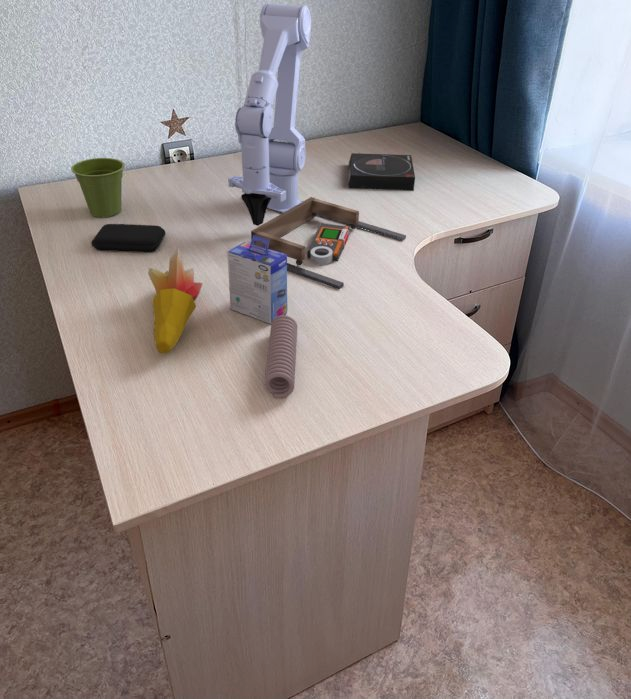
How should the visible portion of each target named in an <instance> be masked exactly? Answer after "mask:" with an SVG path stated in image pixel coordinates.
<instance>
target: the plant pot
mask: <svg viewBox="0 0 631 699" xmlns="http://www.w3.org/2000/svg"><path fill="white" fill-rule="evenodd" d="M124 168H125V163H124V162H123V161H122V160H120V159H117V158H111V157H93V158H88V159H84V160H80V161H78V162H76V163H75V164H73V165H72V166H71V168H70V171H71V172H72V173H73V174H74V176H75V178H76V180H77V182H78V183H79V186H80V188H81V191H82V194H83V197H84V199H85V203H86V205H87V207H88V208H87V209H88V210H89V213H90V215H92V216H93V217H94V216H95V217H96V218H111V217H114V215H119V214H120V213H121V211H122V189H123V188H122V183H123V182H122V181H123V180H122V179H123V176H124V175H123V173H124V172H123V171H124Z"/></svg>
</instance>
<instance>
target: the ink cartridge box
mask: <svg viewBox="0 0 631 699" xmlns="http://www.w3.org/2000/svg"><path fill="white" fill-rule="evenodd" d="M255 241H261V242H263V243H264V244H265V247H262V246H258V245H255V244H254V242H255ZM269 241H270V240H268V239H265V238H262V237H259V236H256V235H253V238H252V241H250V242H248V241H247V242H246V241H243V242H242V243H240V244H238V245H236V246H234V247H233V248H231V249H230V250H228V251H227V252H226V253H227V267H228V268H227V269H228V286H229V290H228V292H229V308H230V310H232V311H236V312H238V313H240V314H244V315H246V316H248V317H252V318H254V319H256V320H260V321H262V322H265V323H267V324H270V325H271V323H272V320H273V319H274V318H275V317H277V316H280V315H286V314H287V313H288V271H287V263H288V257H287V254H284V253H280V252H277V251H274V250H270V249H268V246H269Z"/></svg>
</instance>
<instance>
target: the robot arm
mask: <svg viewBox="0 0 631 699" xmlns="http://www.w3.org/2000/svg"><path fill="white" fill-rule="evenodd" d="M259 24H260V25H259V26H260V30H261V34H262V38H263V44H262V49H261V53H260V54H261V56H260V60H259V68H258V70H257V71H256V72H254V73H252V75H251V77H250V81H249V85H248V88H247V92H246V95H245V99H244V102H243V105H242V106H241V107H239V108H238V109H237V110H236V114H235V119H234V120H235V122H234V128H235V132H236V134H237V140H238V143H239V144H240V148H241V151H240V152H241V164H242V166H241V167H242V176H236V175H232V176H230V177H228V178H227V179H228V182H227V183H228V184H227V185H228V187H229V188H234V187H235V188H238V189H241V193H242V194H241V197H240V198H241V200H242V202H243V203H244V204H245V206H246V208H247V210H248V213H249V215H250V218H251V222H252V224H253V225H254V226H257V227H259V226H261V225H263V224H264V219H265V215H266V212H267V209H268V210H273V211H275V212H278V213H281V214H282V213H284V212H286V211H287V210H289V209H291V208H293V207H294V206H296V205H298V204H300V203H301V202H303V201H304V200H302V199H299V172H300V171H302V169H303V168H304V166H305V163H306V158H307V157H306V155H307V154H306V139H305V137H304V136H303V135H302V134H301V133H300V132H299V131H298V129H296V128H295V127H296V125H295V124H296V115H297V104H298V103H297V102H298V101H297V100H298V94H299V93H298V92H299V81H300V80H299V78H300V68H301V67H300V66H301V59H302V52H303V51H305V50H306V49H308V48H309V44H310V40H311V32H312V31H311V30H312V16H311V11H310V9H309V7H308V5H305V4H304V5H293V4H292V5H291V4H279V3H278V4H277V3H270V2H266V3H264V4H263V6H262V7H261V9H260V14H259ZM276 75H277V77H276ZM274 102H275V104H274ZM273 106H274V109H273ZM276 140H277V141H276ZM283 141H285V142H283ZM286 141H287V142H286ZM288 141H289V142H288Z"/></svg>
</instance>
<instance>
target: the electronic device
mask: <svg viewBox="0 0 631 699" xmlns="http://www.w3.org/2000/svg"><path fill="white" fill-rule="evenodd" d="M350 230H351V228H350V225H348V226H347V225H339V224H331V223H322V222H320V225H319V226H318V228H317V230H316V231H315V235H314V236H313V239H312V240H311V242H310V244H309V247H307V249H306V251H307V259H310V262H311V263H312V264H314V265H318V266H326V265H329V264H331V263H333V262H337V263H338V262H339V260H340V257H341V255H342V253H343V251H344V250H345V248H346V246H347V243H348V242H349V237H350Z"/></svg>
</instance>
